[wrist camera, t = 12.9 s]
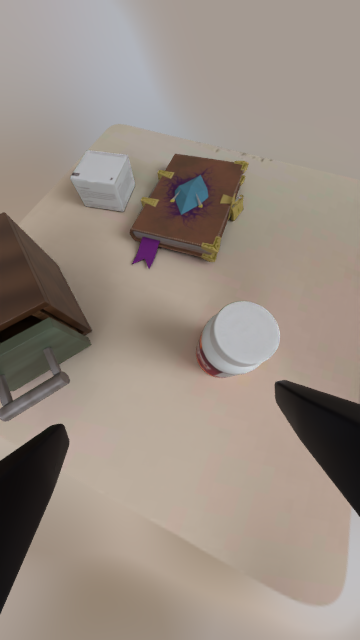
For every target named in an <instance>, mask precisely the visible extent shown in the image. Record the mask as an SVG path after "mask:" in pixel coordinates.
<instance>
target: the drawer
mask: <svg viewBox="0 0 360 640" xmlns="http://www.w3.org/2000/svg"><path fill="white" fill-rule="evenodd" d="M90 345H92V344H91V342H90V340H89V338H88V337H86V336H84V335H82V334H80V333H78V331H77V329H76V327H74V326H72V325H70V324H69V323H67V322H65V321H63V320H61V319H60V318H58V317H56V316H54V315H53V314H51V313H49V312H47V311H45V310H44V309H42V310H40V311H38V312H36V313H34V314H32V315H30V316H28V317H26V318H25V319H23V320H21V321H19V322H17V323H15V324H13V325H11V326H9V327H8V328H6V329H4V330H2V331H0V400H1V403H2V406H4V407H2V408H0V419H1V420H2V421H9V420H11V419H12V418H14V417H16V416H17V415H19V414H21V413H22V412H24V411H25V410H27V409H29V408H30V407H32V406H33V405H35V404H37V403H38V402H40V401H41V400H43V399H45V398H46V397H48V396H50V395H51V394H53V393H54V392H56V391H58V390H59V389H61V388H62V387H64V386H66V385H67V384H69V383H70V379H69V377H68V375H67V374H66V373H65V372H62V371H61V369H60V366H59V364H60V363H62V362H63V361H65V360H67V359H69V358H70V357H72V356H74V355H75V354H77V353H79V352H80V351H82V350H84V349H85V348H87V347H89V346H90ZM50 369H51V371H52V373H53V375H54V376H53V377H52V378H50V379H48V380H47V381H45V382H43V383H42V384H40V385H38V386H37V387H35V388H33V389H32V390H30V391H28V392H27V393H25V394H23V395H22V396H20V397H19V398H17V399H15V400H14V401H13V399H12V396H11V393H10V391H15V390H16V389H18V388H20V387H21V386H23V385H25V384H26V383H28V382H30V381H32V380H33V379H35V378H37V377H38V376H40V375H42V374H43V373H45V372H47V371H48V370H50Z"/></svg>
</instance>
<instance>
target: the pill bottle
mask: <svg viewBox="0 0 360 640" xmlns="http://www.w3.org/2000/svg"><path fill="white" fill-rule="evenodd" d="M279 341H280V332H279V327H278V324H277V322H276V320H275V319H274V317H273V316H272V315H271V313H270V312H269V311H267V310H266V309H265V308H264V307H262V306H260V305H258V304H256V303H253V302H248V301H237V302H233V303H230V304H228V305H226V306H225V307H224V308H222V309H221V310H220V311H219V313H218V314H216V315H215V316H213V317H212V318H211V319H210V320H209V321H208V322H207V324H206V325H205V327H204V330H203V332H202V334H201V337H200V339H199V342H198V345H197V349H196V357H197V361H198V363H199V365H200V367H201V368H202V369H203V370H204V371H205V372H206V373H207V374H209V375H211V376H213V377H217V378H226V377H230V376H235V375H240V374H245V373H248V372H250V371H252V370H254V369H256V368H257V367H258V366H259V365H260V364H261V363H262V362H264V361H266V360H267V359H269V358H270V357H271V356H272V355H273V354H274V353H275V351H276V350H277V348H278V345H279Z"/></svg>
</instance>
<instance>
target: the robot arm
mask: <svg viewBox="0 0 360 640" xmlns="http://www.w3.org/2000/svg"><path fill="white" fill-rule="evenodd" d="M275 399H276V402H277V404H278V406H279V408H280V409H281V411H282V412H283V414H284V415H285V417H286V419H287V420H288V422H289V423H290V425H291V426H292V428H293V430H294V431H295V433H296V434H297V436H298V437H299V439H300V440H301V441H302V443H303V444H304V445H305V447H306V448H307V449H308V450H309V452H310V453H311V454H312V456H313V457H314V458H315V460H316V461H317V462H318V463H319V465H320V466H321V467H322V469H323V470H324V471H325V472H326V474H327V475H328V476H329V478H330V479H331V480H332V481H333V483H334V484H335V485H336V487H337V488H338V489H339V490H340V492H341V493H342V494H343V496H344V497H345V498H346V500H347V501H348V502H349V503H350V505H351V506H352V507H353V509H354V510H355V511H356V512H357V514H358V515H359V516H360V404H357V403H354V402H351V401H348V400H345V399H342V398H339V397H336V396H333V395H330V394H327V393H324V392H321V391H317V390H314V389H311V388H308V387H305V386H302V385H299V384H296V383H293V382H290V381H287V380H282V381H277V382H276V383H275ZM68 447H69V438H68V435H67V432H66V429H65V426H64V425H63V424H56V425H52V426H50V427H48V428H47V429H45V430H44V431H42V432H41V433H40V434H38V435H37V436H35V437H34V438H32V439H31V440H30V441H28V442H27V443H25V444H24V445H22V446H21V447H19V448H18V449H17V450H16V451H14V452H12V453H11V454H10V455H8V456H6V457H5V458H4V459H2V460H1V461H0V613H1V611H2V609H3V606H4V604H5V602H6V600H7V597H8V595H9V593H10V590H11V588H12V586H13V583H14V581H15V579H16V576H17V574H18V572H19V570H20V567H21V565H22V563H23V560H24V558H25V556H26V553H27V551H28V548H29V547H30V544H31V542H32V540H33V537H34V535H35V532H36V530H37V528H38V526H39V523H40V521H41V518H42V517H43V514H44V512H45V510H46V507H47V505H48V503H49V500H50V498H51V496H52V493H53V491H54V488H55V485H56V482H57V479H58V477H59V474H60V471H61V468H62V465H63V462H64V459H65V456H66V453H67V450H68Z"/></svg>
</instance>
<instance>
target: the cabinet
mask: <svg viewBox="0 0 360 640" xmlns="http://www.w3.org/2000/svg"><path fill="white" fill-rule="evenodd" d="M42 309H44V310H45V311H47V312H49V313H51V314H53V315H54V316H56V317H58V318H60V319H61V320H63V321H65V322H67V323H69V324H70V325H72V326H74V327H76V329H77V331H78V333H80V334H82V335H86V334H88V333H90V332H91V331H92V330H91V328H90V326H89V324H88V322H87V320H86V318H85V316H84V314H83V313H82V311H81V309H80V307H79V305H78V303H77V301H76V299H75V297H74V295H73V293H72V291H71V290H70V288H69V286H68V284H67V282H66V280H65V278H64V276H63V274H62V272H61V270H60V268H59V266H58V265H57V264H56V263H55V262H54V261H53V260H52V259H51V258H50V257H49V256H48V255H47V254H46V253H45V252H44V251H43V250H42V249H41V248H40V247H39V246H38V245H37V244H36V243H35V242H34V241H33V240H32V239H31V238H30V237H29V236H28V235H27V234H26V233H25V232H24V231H23V230H22V229H21V228H20V227H19V226H18V225H17V224H16V223H15V222H14V221H13V220H12V219H11V218H10V217H9V216H8V215H7V214H6V213H2V214H0V331H2V330H4V329H6V328H8V327H9V326H11V325H13V324H15V323H17V322H19V321H21V320H23V319H25V318H26V317H28V316H30V315H32V314H34V313H36V312H38V311H40V310H42Z"/></svg>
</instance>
